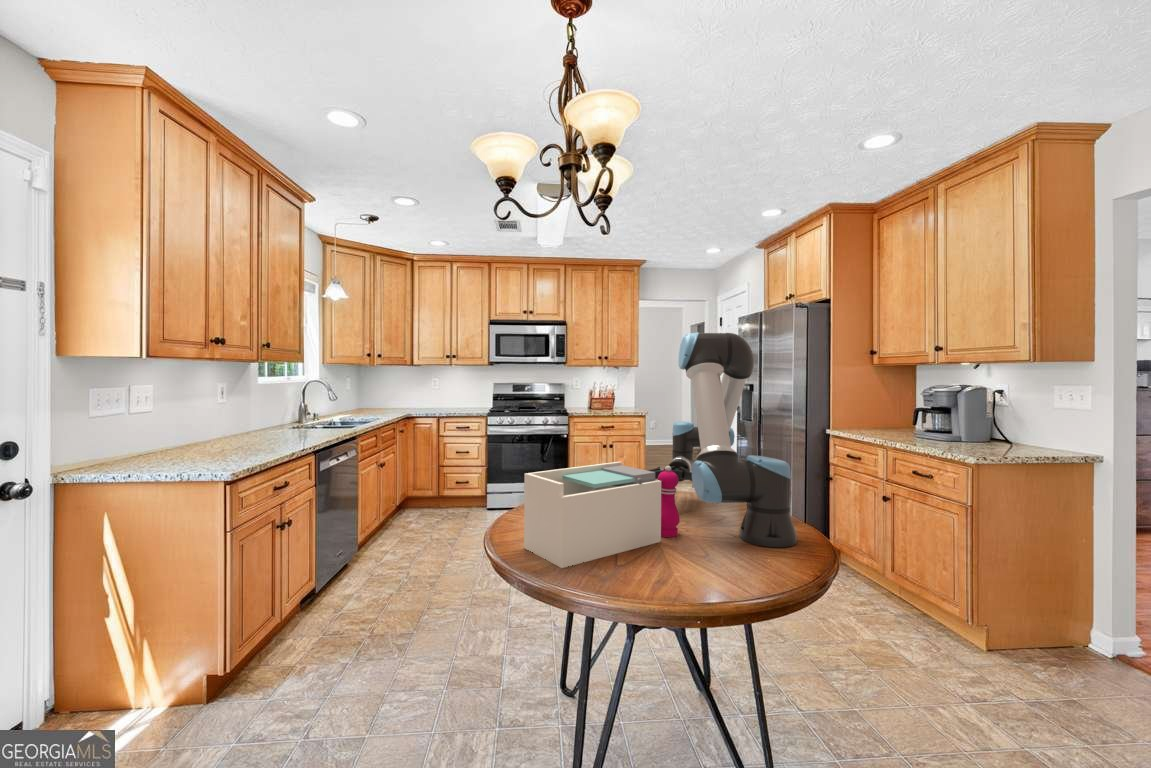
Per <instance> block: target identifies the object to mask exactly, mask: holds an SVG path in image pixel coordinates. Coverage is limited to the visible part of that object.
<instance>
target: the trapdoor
mask: <svg viewBox="0 0 1151 768" xmlns="http://www.w3.org/2000/svg"><path fill="white" fill-rule="evenodd" d="M647 470H648V469H647ZM647 470H645V469H641V468H636V467H632V466H626V465H624V464H622V465H620V466H612V467H605V468H602V470H600V471H592V472H585V473H577V474H570V475H563V479H564V480H568V481H571V482H575V483H578V484H582V485H585V486H589V487H592V488H598V487H604V486H610V485H611V486H615V487H620V486H626V485H633V484H638V483H637V479H638V478H642V479H643V483H645V482H651V481H656V479H655V472H651V471H647Z"/></svg>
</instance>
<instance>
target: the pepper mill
mask: <svg viewBox="0 0 1151 768" xmlns="http://www.w3.org/2000/svg"><path fill="white" fill-rule="evenodd" d="M664 468H665V470H666V471H663V472H661V473H660V474H659V476H658V479H657V480H659V481H661V537H664V538H674V537H677V536H678V531H679V528H678V527H677V526H678V525H679V524H680V521H681V520H680V518H681V517H680V513H679V511H678V508H677V506H676V500H675V499H676V498H675V497H676V494H677V486H678V484H679V482H678V476H677V475H676V474H675V473H674V472H672V471H671V467H670V466H668V465H666V466H665V467H664Z"/></svg>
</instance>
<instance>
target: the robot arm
mask: <svg viewBox="0 0 1151 768" xmlns="http://www.w3.org/2000/svg"><path fill="white" fill-rule="evenodd" d="M678 351H679V352H678V367H679V369H681V370H685V374H686V377H687V378H688V379H690V380H691V384H692V391H693V398H694V408H695V414H696V415H695V416H696V423H697V426H694V424H695V423H694V422H692V421H683V420H682V421H675V422H674V423H673V427H672V452H671V453H672V455H671V459H672V460H671V461H670V462H669V464H668V465H667V466H670V467H671V471H672V472H674V473H675V474H676V475H677V476H678V483H680V482H681V483H682V482H684V481H691V482H692V483H691V484H692V485H691V487H692V488H691V489H694V491H695V494H696V495H697V497H698V498H699V500H700V501H702V502H704V503H709V504H711V503H712V504H717V505H718V504H719V505H720V503H721V504H722V503H723V504H724V503H725V504H727V503H728V504H729V503H730V504H737V503H739V504H740V503H741V504H742V503H743V504H744V503H745V504H746V510H745V513H744V516H743V518H742V521H741V525H740V528H739V537H740V538H741V540H743V541H744V542H747V543H750V544H753V545H755V546H756V545H757V546H761V547H768V548H788V547H792V546H794V545H796V544H797V532H796V528H795V525H794V522H793V519H792V516H791V487H792V486H791V482H792V481H791V480H792V477H791V476H792V475H791V473H792V472H791V466H790V464H789V463H788V462H786V461H785V460H782V459H779V458H775V457H768V456H761V455H753V454H749V455H747V456H746V458H745V460H740V459H739V455H738V452H736V450H734V449H733V448H732V447H733V445H734V443H735V437H736V436H735V432H734V429H733V428H732V425H733V421H734V419H735V416H736V414H737V413H736V412H737V410H738V406H739V403H740V400H741V398H742V397H741V396H742V394H743V391H744V387H745V385H746V382H747V379H749V378H751V377H752V374H753V371H754V366H755V357H754V352H753V350H752V348H751V345H750V344H749V343H748V342H747V341H746V339H745V338H744V337H742V336H741V335H739V334H736V333H733V332H698V331H697V332H688V333H685V334H684V335H683V337H682V338H681V342H680V347H679V350H678ZM721 376H722V377H721ZM695 448H700V452H699V453H698V454H697V455H696V460H695V461H694V449H695ZM647 471H651V472H655V480H658V476H659V474H660V473H661V472H663V471H666V470H665V467H664V468H663V469H662V467H661V466H657V467H655V468H649V469H647Z"/></svg>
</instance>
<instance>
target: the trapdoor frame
mask: <svg viewBox="0 0 1151 768" xmlns="http://www.w3.org/2000/svg"><path fill="white" fill-rule="evenodd" d="M620 465H623V462H622V461H613V462H607V463H606V462H605V463H604V462H603V463H599V464H598V463H597V464H591V465H589V464H588V465H581V466H575V467H567V468H558V469H557V468H556V469H550V470H549V469H548V470H543V471H542V470H541V471H535V472H528V473H527V472H526V473H524V487H523V489H524V490H523V492H524V493H523V494H524V495H523V496H524V497H523V498H524V499H523V500H524V501H523V503H524V505H523V506H524V508H523V509H524V510H523V512H524V513H523V516H524V517H523V519H524V520H523V521H524V522H523V533H524V534H523V548H524V549H525V550H527V551H528V550H529V551H528V552H530V551H531V553H532V552H533V554H534V555H536V556H537V557H540V558H542V559H544V560H545V559H546V560H545V561H547V562H549V563H551V564H553V565H555V566H557V567H558V568H560V569H565V568H568V566H569V567H571V566H572V565H573V566H576V565H580V564H583V562H584V563H586V562H587V563H588V562H590V561H595V560H599V559H602V558H605V557H609V556H613V555H617V554H621V553H623V552H625V553H626V552H627V551H631V550H632V551H633V550H635V549H638V548H639V549H640V548H642V547H646V546H649V545H653V544H657V543H660V542H662V540H661V539H662V538H661V537H662V536H661V481H659V480H658V479H656V480H655V481H651V482H645V483H643V479H642V478H638V479H637V483H638V484H633V485H626V486H620V487H615V486H611V485H610V486H604V487H598V488H592V487H589V486H585V485H582V484H578V483H575V482H571V481H568V480H564V479H563V475H570V474H577V473H585V472H592V471H600V470H602V468H605V467H612V466H620Z"/></svg>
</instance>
